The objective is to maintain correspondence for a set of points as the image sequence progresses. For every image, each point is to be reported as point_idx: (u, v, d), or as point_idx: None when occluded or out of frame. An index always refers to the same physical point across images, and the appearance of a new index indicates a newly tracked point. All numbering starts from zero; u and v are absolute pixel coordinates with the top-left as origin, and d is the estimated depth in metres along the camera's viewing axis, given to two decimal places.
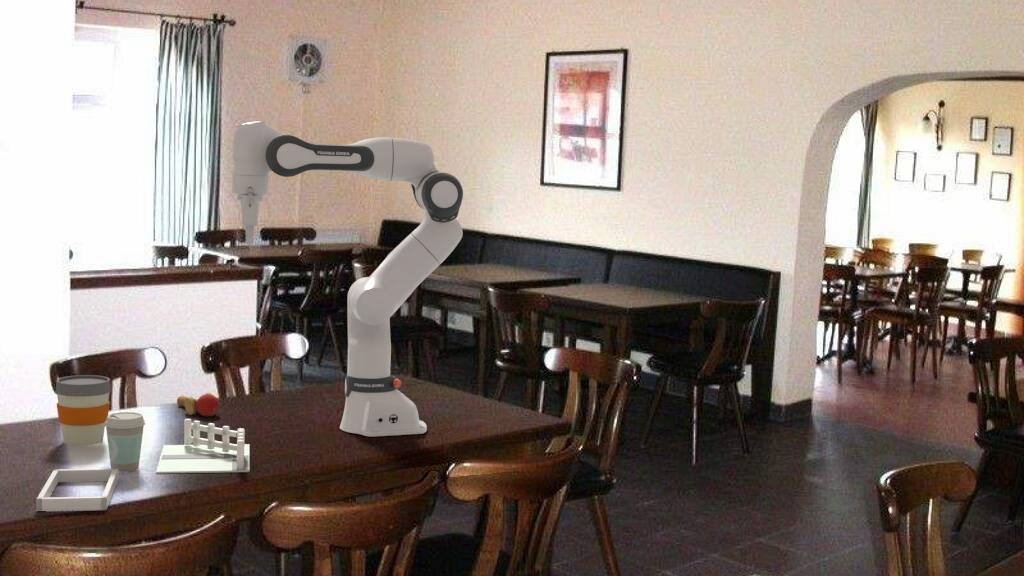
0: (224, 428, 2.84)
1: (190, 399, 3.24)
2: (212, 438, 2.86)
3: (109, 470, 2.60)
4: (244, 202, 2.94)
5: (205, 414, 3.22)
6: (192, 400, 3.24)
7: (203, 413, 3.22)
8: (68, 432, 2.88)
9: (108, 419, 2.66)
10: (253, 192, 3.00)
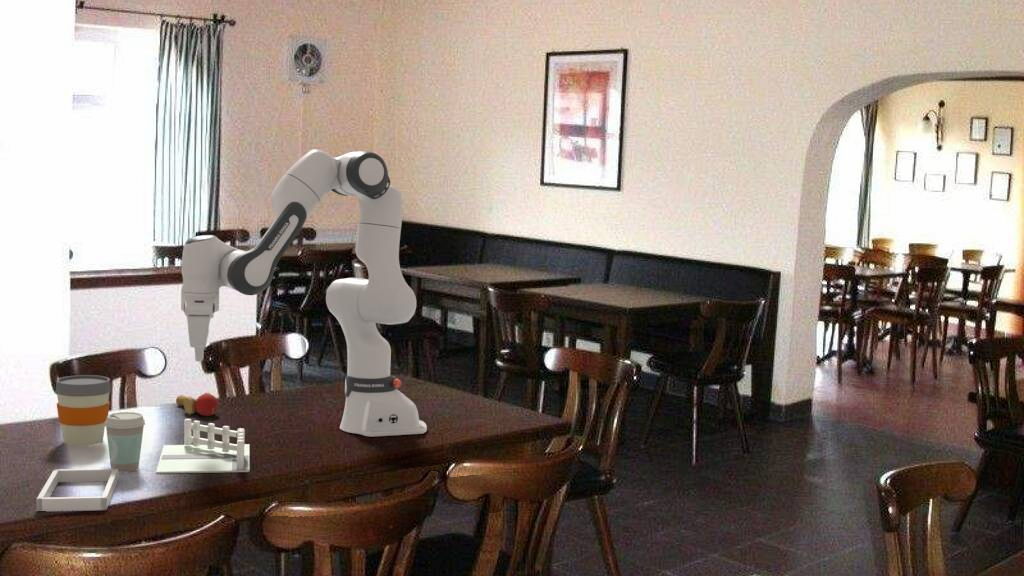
0: (224, 428, 2.84)
1: (189, 399, 3.25)
2: (212, 438, 2.86)
3: (109, 470, 2.60)
4: None
5: (204, 413, 3.23)
6: (191, 400, 3.25)
7: (202, 413, 3.23)
8: (68, 432, 2.88)
9: (108, 419, 2.66)
10: None
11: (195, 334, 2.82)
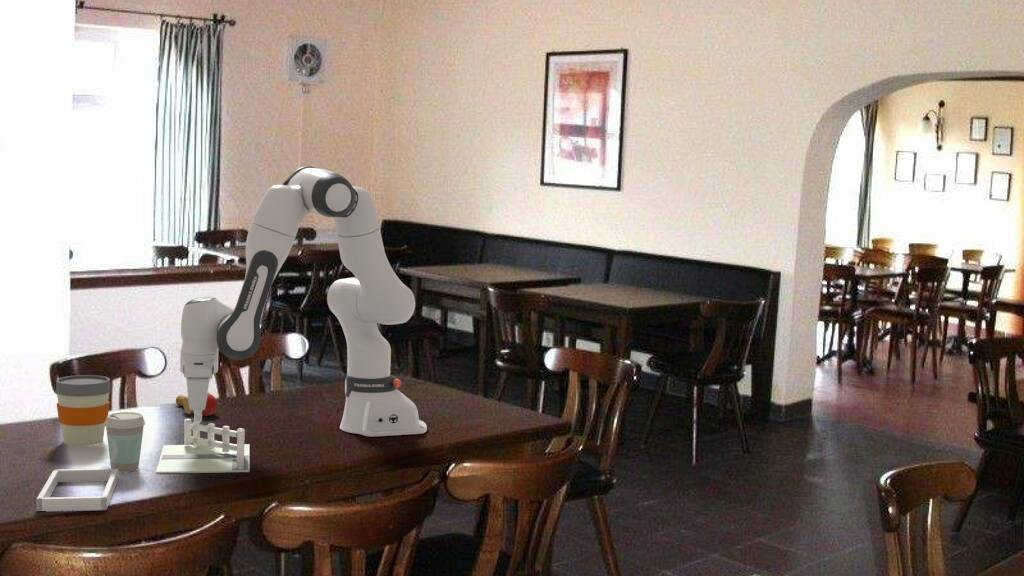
0: (224, 428, 2.84)
1: None
2: (212, 438, 2.86)
3: (109, 470, 2.60)
4: None
5: (203, 413, 3.23)
6: None
7: None
8: (68, 432, 2.88)
9: (108, 419, 2.66)
10: None
11: (195, 397, 2.83)
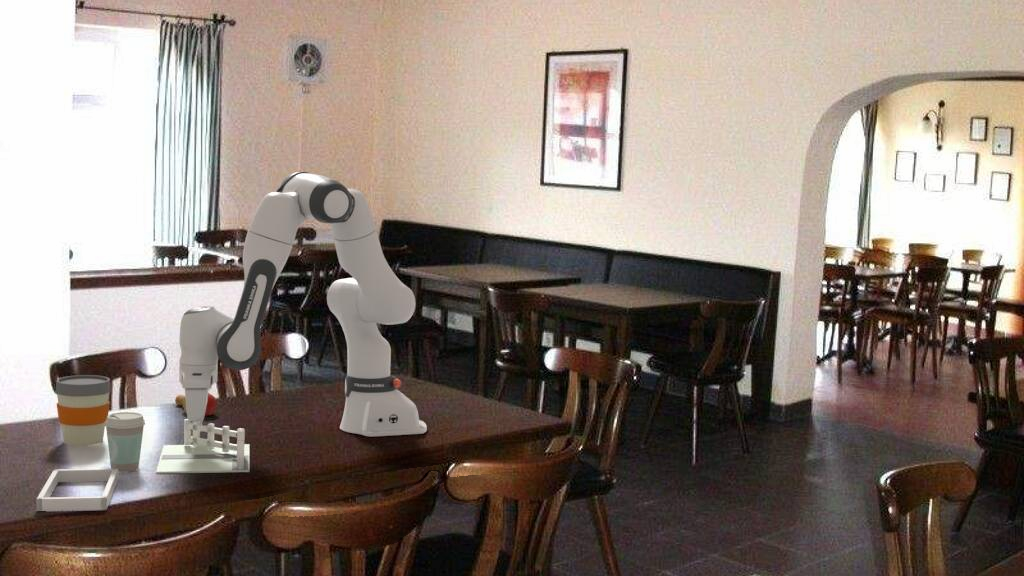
0: (224, 428, 2.84)
1: None
2: (212, 438, 2.86)
3: (109, 470, 2.60)
4: None
5: None
6: None
7: None
8: (68, 432, 2.88)
9: (108, 419, 2.66)
10: None
11: (193, 408, 2.81)
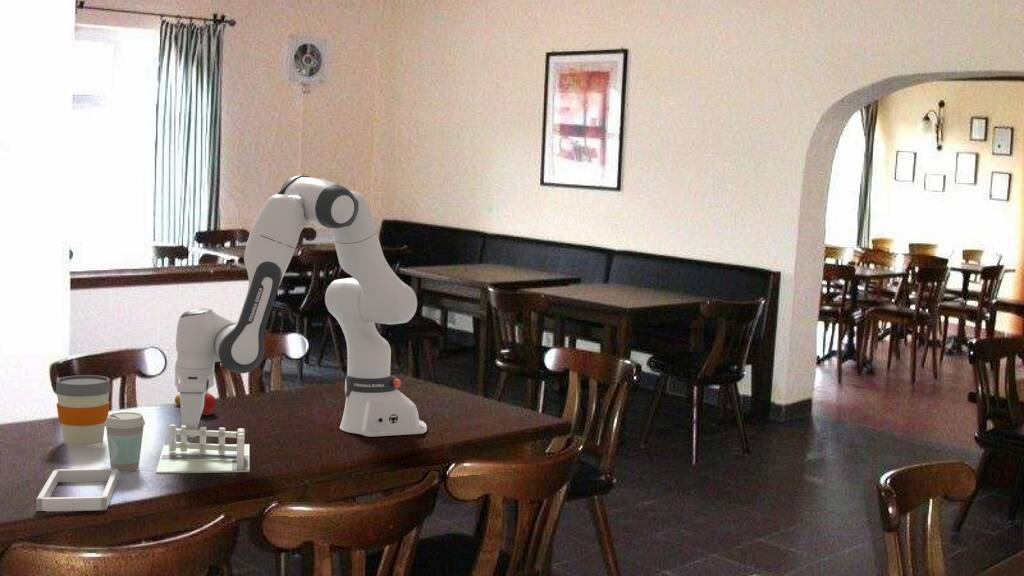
0: (221, 430, 2.82)
1: None
2: (205, 441, 2.83)
3: (109, 470, 2.60)
4: None
5: (203, 412, 3.23)
6: None
7: None
8: (68, 432, 2.88)
9: (108, 419, 2.66)
10: None
11: (187, 412, 2.75)
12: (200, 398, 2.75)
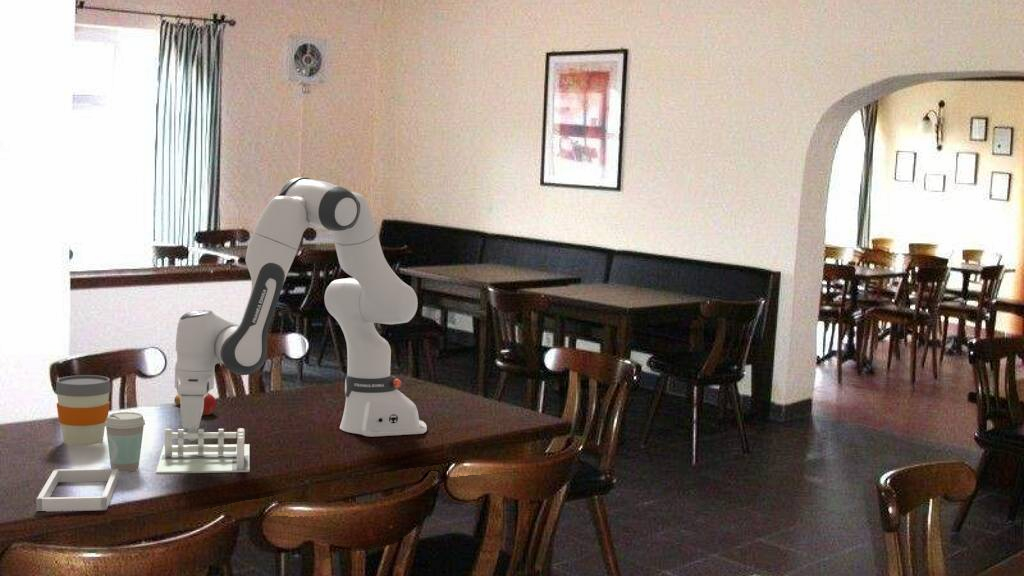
0: (220, 431, 2.81)
1: None
2: (203, 444, 2.81)
3: (109, 470, 2.60)
4: None
5: (202, 412, 3.24)
6: None
7: None
8: (68, 432, 2.88)
9: (108, 419, 2.66)
10: None
11: (188, 415, 2.72)
12: (201, 401, 2.73)
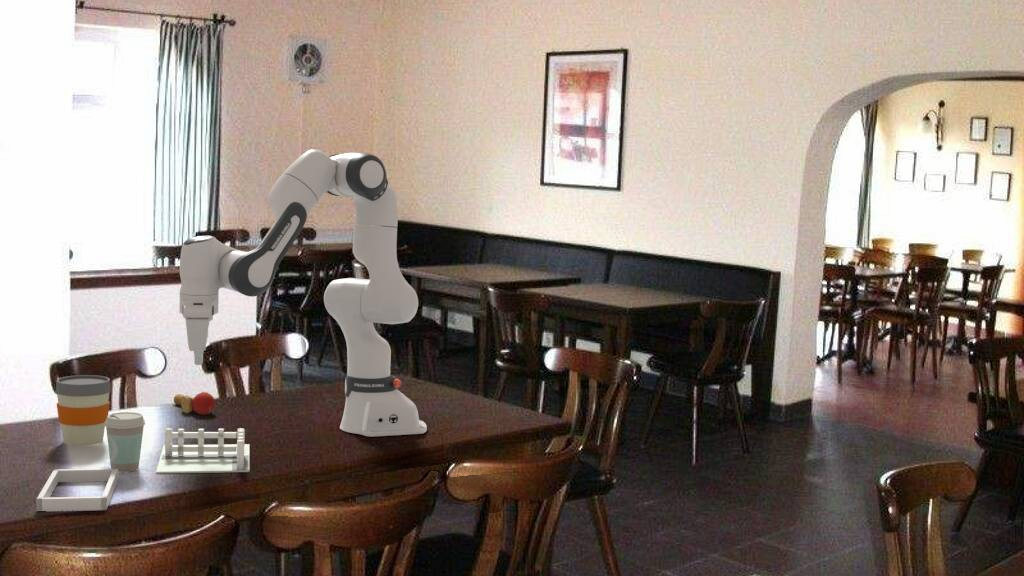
0: (220, 431, 2.81)
1: (186, 397, 3.26)
2: (203, 443, 2.81)
3: (109, 470, 2.60)
4: None
5: (201, 412, 3.24)
6: (188, 398, 3.26)
7: (199, 411, 3.24)
8: (68, 432, 2.88)
9: (108, 419, 2.66)
10: None
11: (194, 337, 2.76)
12: (206, 323, 2.77)
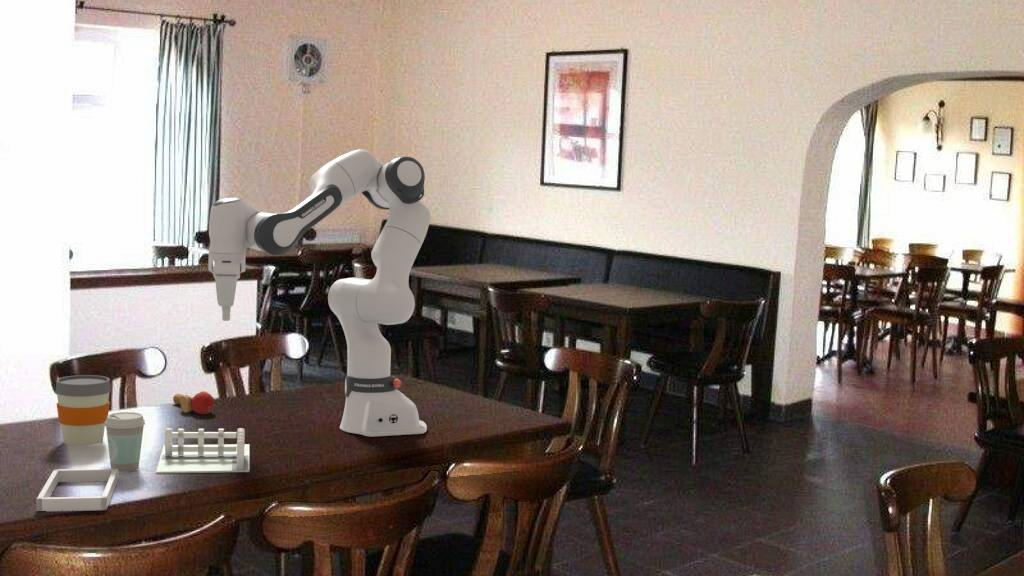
0: (220, 431, 2.81)
1: (185, 397, 3.26)
2: (203, 443, 2.81)
3: (109, 470, 2.60)
4: None
5: (200, 411, 3.24)
6: (187, 398, 3.26)
7: (198, 411, 3.24)
8: (68, 432, 2.88)
9: (108, 419, 2.66)
10: None
11: (223, 293, 2.90)
12: (234, 280, 2.91)
